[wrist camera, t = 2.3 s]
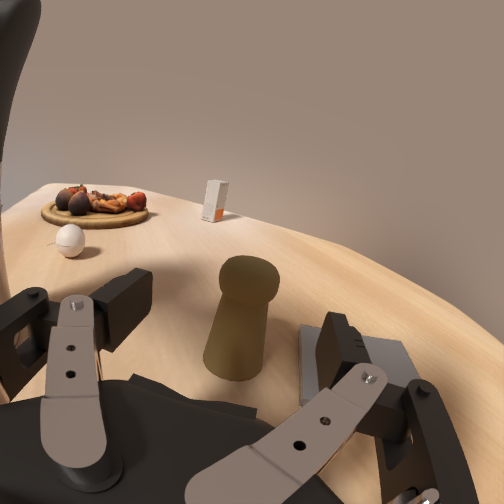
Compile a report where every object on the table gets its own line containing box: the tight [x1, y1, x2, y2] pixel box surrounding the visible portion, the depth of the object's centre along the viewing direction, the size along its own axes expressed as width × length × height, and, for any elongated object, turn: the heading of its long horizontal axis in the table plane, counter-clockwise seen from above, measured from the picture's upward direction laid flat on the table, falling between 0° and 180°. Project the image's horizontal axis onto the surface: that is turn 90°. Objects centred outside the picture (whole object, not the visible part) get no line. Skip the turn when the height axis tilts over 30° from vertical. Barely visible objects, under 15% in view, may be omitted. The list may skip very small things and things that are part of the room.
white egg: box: [49, 224, 85, 257], centre depth 38 cm, size 8×6×6 cm
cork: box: [203, 255, 280, 381], centre depth 25 cm, size 6×6×11 cm
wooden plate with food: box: [41, 184, 148, 229], centre depth 66 cm, size 32×32×8 cm
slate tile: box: [299, 324, 421, 406], centre depth 27 cm, size 15×13×1 cm
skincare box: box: [201, 180, 229, 222], centre depth 81 cm, size 6×4×12 cm
